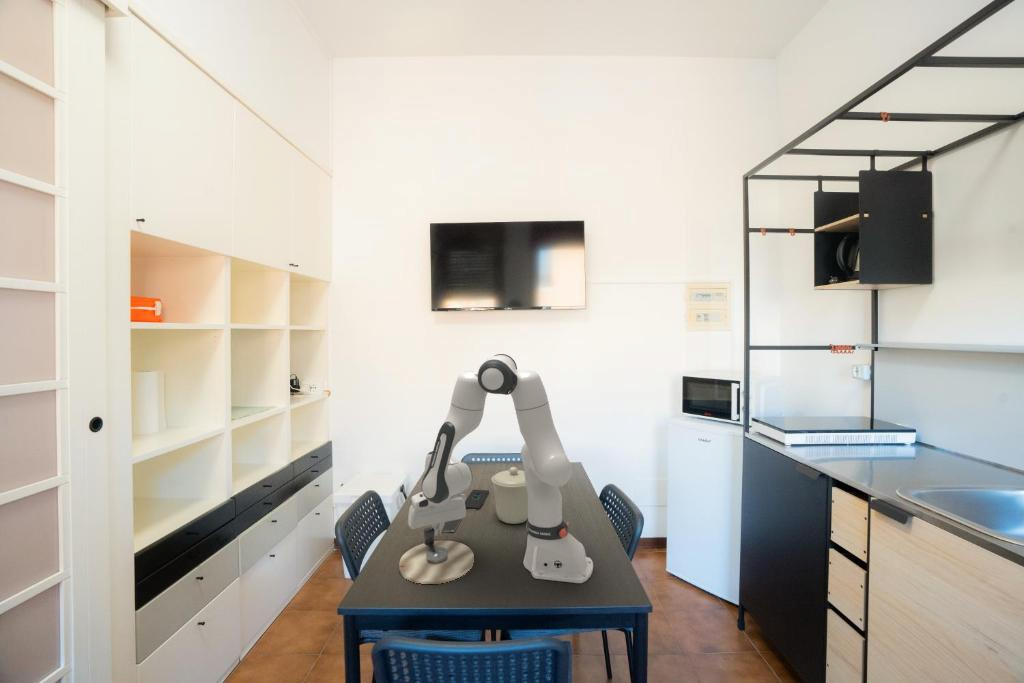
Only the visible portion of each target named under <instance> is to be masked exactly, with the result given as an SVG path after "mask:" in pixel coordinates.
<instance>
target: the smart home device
mask: <svg viewBox="0 0 1024 683" xmlns="http://www.w3.org/2000/svg"><path fill="white" fill-rule="evenodd" d="M489 494H490V490H489V489H472V490H471V491H470V493H469V495H468V496H467V497H466V500H465V507H466V510H468V509H476V510H475V511H480V510H481V508H482V507H483V505H484V503H485V501H486V500H487V498H488V496H489ZM487 495H488V496H487ZM486 497H487V498H486ZM485 499H486V500H485ZM479 509H480V510H479Z"/></svg>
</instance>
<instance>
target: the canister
mask: <svg viewBox="0 0 1024 683" xmlns="http://www.w3.org/2000/svg"><path fill="white" fill-rule="evenodd" d="M490 480H491V483H492V484H493V494H494V504H495V509H496V515H497V517H498V520H499V521H501V522H503V523H504V524H511V525H517V524H522V523H525V522H527V519H528V494H527V487H526V481H525V474H524V470H521V469H520V470H519V469H518V468H517V467H516V466H511V467H510V468H509V469H508V470H502V471H499V472H497V473H495V474H494V475H493V476H492V477H491V479H490Z"/></svg>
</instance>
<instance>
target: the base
mask: <svg viewBox="0 0 1024 683" xmlns="http://www.w3.org/2000/svg"><path fill="white" fill-rule="evenodd" d="M434 546H435V547H444V548H446V549H447V550H448V558H447V560H446V561H444V562H442V563H437V564H433V563H429V562H428V561H427V560H426V552H427V551H428V550H429V549H428V548H427V546H426V545H425V544H424V542H423V543H421V544H418V545H416V546H413V547H412V548H410V549H409V550H407V551H406V552H405V553H403V554H402V556H401V557H400V560H399V563H398V565H399V566H398V569H399V573H400V575H401V576H402V578H404V579H405V580H406V579H407V580H406V581H408V580H409V581H408V582H410V581H411V582H410V583H413V582H415V583H414V584H416V583H421V584H439V585H442V584H441V583H444V584H447V583H446V582H448V583H450V582H449V581H452V580H454V581H456V580H455V579H457V578H459V579H461V578H462V577H464V576H466V575H467V574H468V573H469V572H470V571H471V570H472V568H473V566H474V564H473V563H475V557H474V556H475V555H474V552H473V550H472V549H471V548H470V547H469V546H467V545H466V544H464V543H461V542H459V541H458V542H457V541H454V540H434ZM470 569H471V570H470ZM468 571H469V572H468ZM467 572H468V573H467ZM466 573H467V574H466ZM463 575H464V576H463ZM461 576H462V577H461ZM460 577H461V578H460ZM457 580H458V579H457ZM452 582H453V581H452ZM421 584H420V585H421Z"/></svg>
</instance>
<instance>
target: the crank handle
mask: <svg viewBox="0 0 1024 683" xmlns="http://www.w3.org/2000/svg"><path fill="white" fill-rule="evenodd" d="M434 541H435V534H434V528H433V527H432V526H431V527H430V526H429V527H425V528H424V529H423V543H424V544H425V545H426V546H427V548H428V549H429V550H428V551H427V552H426V560H427V561H428V562H429V563H433V564H437V563H442V562H444V561H446V560H447V558H448V550H447V549H446V548H444V547H435V546H434Z"/></svg>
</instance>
